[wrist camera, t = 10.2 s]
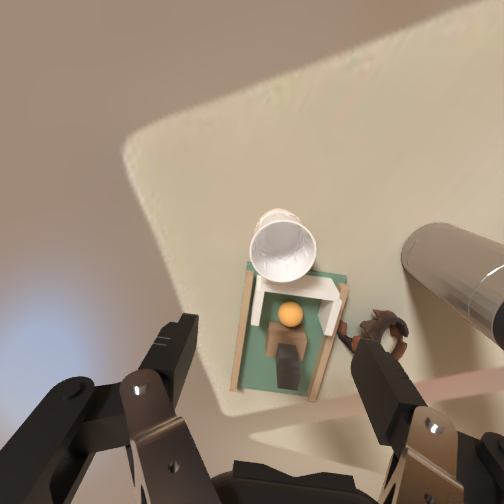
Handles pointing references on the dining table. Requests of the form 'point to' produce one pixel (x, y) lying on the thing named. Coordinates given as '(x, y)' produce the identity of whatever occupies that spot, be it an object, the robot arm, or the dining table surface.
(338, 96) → the dining table surface
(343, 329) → the pottery mug
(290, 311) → the ball
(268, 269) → the white cup
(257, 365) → the pitch
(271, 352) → the striker
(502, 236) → the dining table surface
